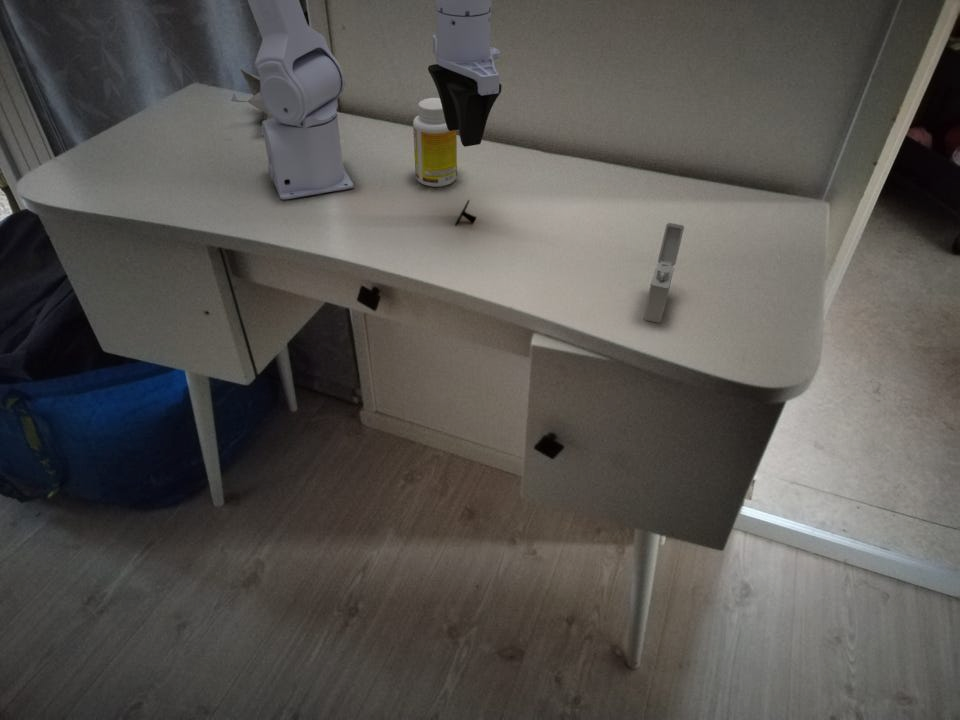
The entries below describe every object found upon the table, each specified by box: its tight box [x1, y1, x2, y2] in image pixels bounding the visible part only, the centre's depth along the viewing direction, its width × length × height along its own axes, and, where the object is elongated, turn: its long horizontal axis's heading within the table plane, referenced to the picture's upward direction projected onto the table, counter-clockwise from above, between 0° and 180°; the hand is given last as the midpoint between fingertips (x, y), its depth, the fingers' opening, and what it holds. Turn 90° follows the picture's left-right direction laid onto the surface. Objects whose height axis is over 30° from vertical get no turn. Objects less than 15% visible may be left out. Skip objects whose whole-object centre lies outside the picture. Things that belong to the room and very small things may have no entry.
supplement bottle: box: [412, 97, 458, 188], centre depth 92 cm, size 6×6×10 cm
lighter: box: [643, 222, 685, 324], centre depth 71 cm, size 7×2×8 cm, turn 160°
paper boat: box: [230, 69, 274, 137], centre depth 107 cm, size 12×6×9 cm
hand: (463, 136), depth 81 cm, fingers open, 4 cm apart
